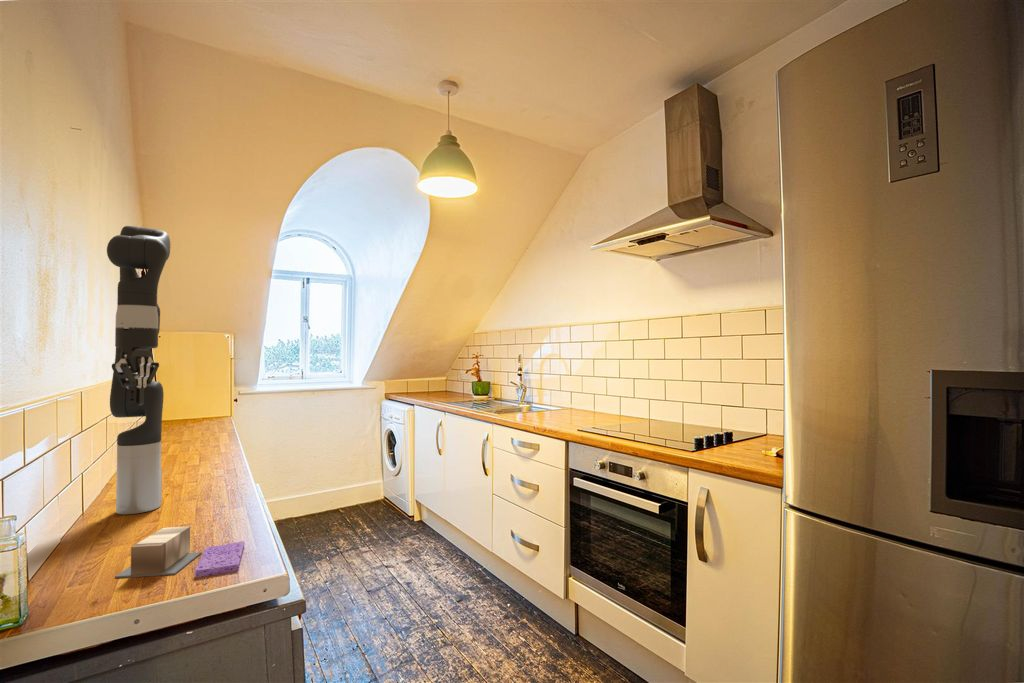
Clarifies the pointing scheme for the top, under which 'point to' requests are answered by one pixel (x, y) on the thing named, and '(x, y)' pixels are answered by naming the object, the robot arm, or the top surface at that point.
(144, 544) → the birch block
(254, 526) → the top surface
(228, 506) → the top surface
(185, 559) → the mat
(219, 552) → the sponges
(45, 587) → the top surface
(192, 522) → the top surface
